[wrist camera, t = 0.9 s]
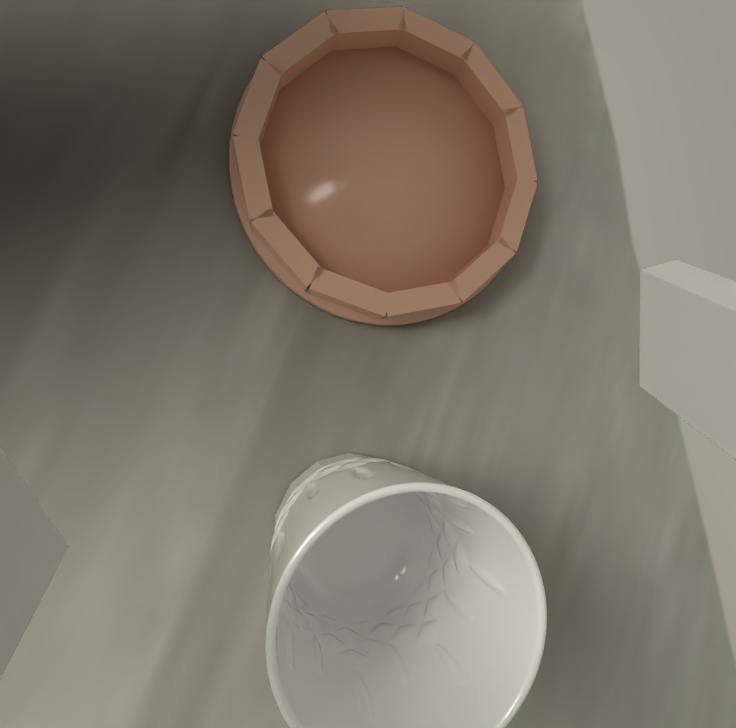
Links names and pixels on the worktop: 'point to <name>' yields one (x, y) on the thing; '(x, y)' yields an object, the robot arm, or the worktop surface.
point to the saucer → (381, 166)
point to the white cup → (398, 602)
